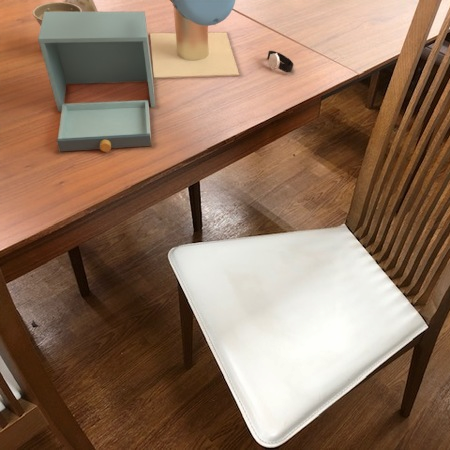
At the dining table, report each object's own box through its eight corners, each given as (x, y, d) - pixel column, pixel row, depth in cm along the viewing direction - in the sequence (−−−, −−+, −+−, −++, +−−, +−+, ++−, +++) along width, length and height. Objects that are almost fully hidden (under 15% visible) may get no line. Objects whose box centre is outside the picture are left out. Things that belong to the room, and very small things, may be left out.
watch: (261, 61, 116) (262, 46, 113) (278, 57, 118) (279, 42, 115) (281, 77, 112) (282, 62, 109) (298, 72, 114) (299, 57, 111)
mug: (50, 16, 121) (63, -25, 118) (92, 34, 126) (105, -5, 123) (48, 22, 115) (61, -21, 112) (92, 41, 120) (106, 0, 117)
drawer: (151, 149, 89) (150, 139, 88) (59, 155, 86) (55, 145, 84) (148, 108, 98) (147, 98, 97) (64, 111, 95) (62, 101, 93)
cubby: (155, 107, 99) (146, 37, 89) (58, 111, 95) (37, 38, 85) (152, 79, 106) (144, 11, 96) (62, 82, 102) (44, 11, 92)
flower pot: (87, 38, 115) (79, 0, 109) (92, 58, 109) (84, 19, 103) (42, 42, 112) (31, 3, 106) (45, 63, 106) (33, 22, 100)
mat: (239, 75, 110) (239, 74, 110) (153, 78, 106) (153, 76, 106) (226, 33, 124) (226, 32, 123) (150, 34, 119) (149, 33, 119)
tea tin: (172, 57, 112) (167, 3, 104) (182, 43, 117) (178, -10, 109) (204, 63, 112) (202, 8, 103) (212, 48, 117) (211, -5, 109)
